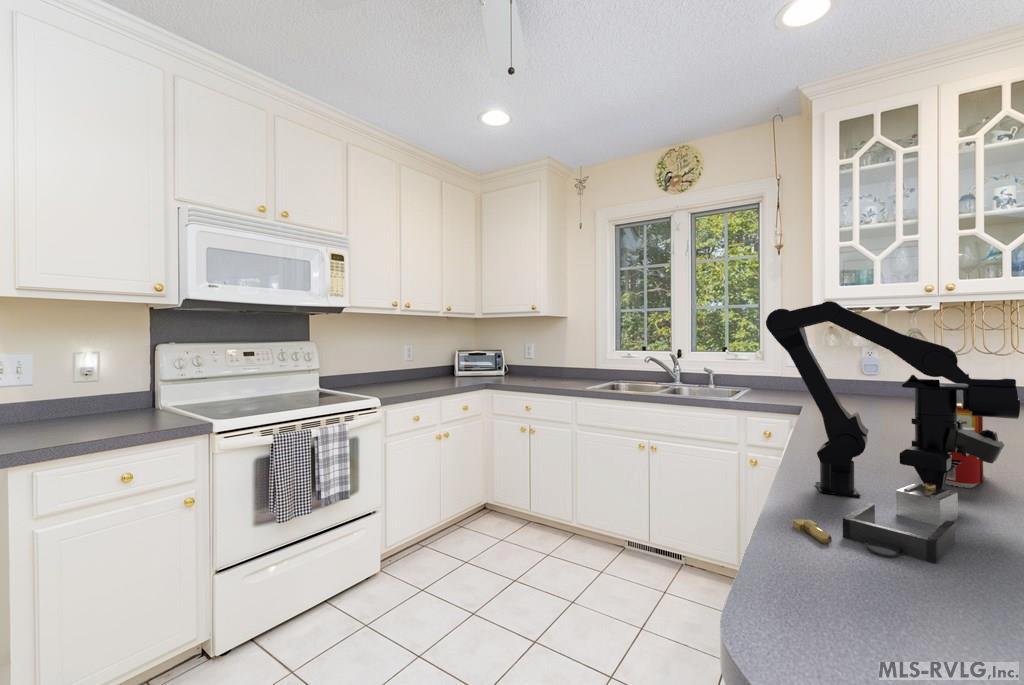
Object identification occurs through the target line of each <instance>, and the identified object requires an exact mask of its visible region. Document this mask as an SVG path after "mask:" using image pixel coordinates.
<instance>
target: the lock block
mask: <svg viewBox="0 0 1024 685" xmlns="http://www.w3.org/2000/svg"><path fill="white" fill-rule="evenodd" d="M958 498H959V497H958V492H956V491H951V490H950V489H948V488H944V489H937V488H935V484H931V483H925V485H924V483H912V484H909V485H907V486H903V487H901V488H899V489H896V490H895V503H896V504H895V507H896V508H895V510H896V511H895V512H896V516H898V517H903V518H907V519H911V520H914V521H919V522H923V523H926V524H929V525H933V526H937V527H940V526H941V525H942V524H943V523H944V522H945V521H946V520H947V521H951V522H954V521H955V520H957V519H958V516H959V512H958V510H959V509H958V508H959V507H958V506H959V505H958V503H959V502H958V501H959V500H958Z"/></svg>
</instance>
